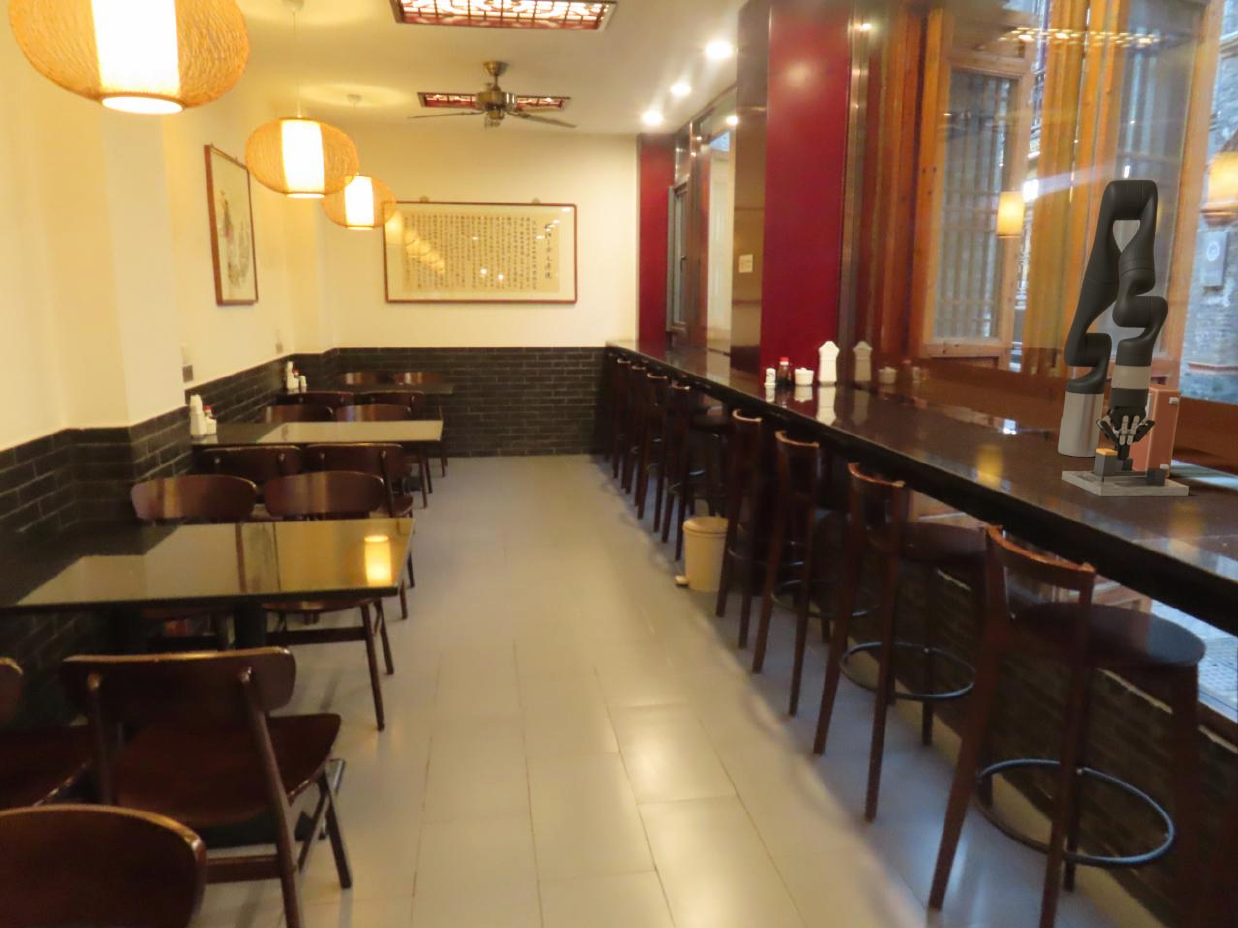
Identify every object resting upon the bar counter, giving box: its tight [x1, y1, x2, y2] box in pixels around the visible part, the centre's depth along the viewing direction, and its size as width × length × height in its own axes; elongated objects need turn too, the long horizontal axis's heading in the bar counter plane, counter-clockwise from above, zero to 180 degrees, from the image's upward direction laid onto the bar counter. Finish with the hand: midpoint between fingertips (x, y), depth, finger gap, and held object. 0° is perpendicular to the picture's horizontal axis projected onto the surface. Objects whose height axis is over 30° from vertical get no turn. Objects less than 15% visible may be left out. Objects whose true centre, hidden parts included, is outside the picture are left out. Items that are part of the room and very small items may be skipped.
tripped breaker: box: [1093, 448, 1118, 477], centre depth 196 cm, size 4×3×6 cm
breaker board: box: [1061, 457, 1190, 497], centre depth 197 cm, size 16×20×6 cm
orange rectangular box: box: [1129, 383, 1182, 478], centre depth 211 cm, size 21×7×15 cm
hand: (1120, 459), depth 196 cm, fingers closed
